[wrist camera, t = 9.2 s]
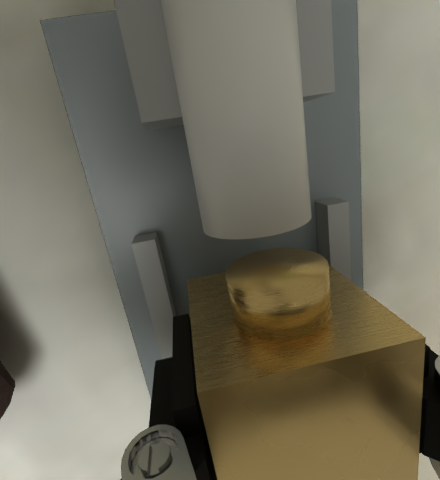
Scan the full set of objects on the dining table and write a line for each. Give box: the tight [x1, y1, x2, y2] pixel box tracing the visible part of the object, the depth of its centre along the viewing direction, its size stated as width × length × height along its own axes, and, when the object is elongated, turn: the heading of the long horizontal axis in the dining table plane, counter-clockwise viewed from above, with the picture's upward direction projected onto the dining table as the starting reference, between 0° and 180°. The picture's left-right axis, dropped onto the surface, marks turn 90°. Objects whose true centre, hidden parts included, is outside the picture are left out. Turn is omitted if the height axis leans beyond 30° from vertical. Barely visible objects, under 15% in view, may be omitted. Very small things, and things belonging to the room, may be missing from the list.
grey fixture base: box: [40, 0, 363, 399], centre depth 11 cm, size 22×10×6 cm, turn 9°
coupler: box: [187, 248, 426, 480], centre depth 9 cm, size 7×4×5 cm, turn 9°
